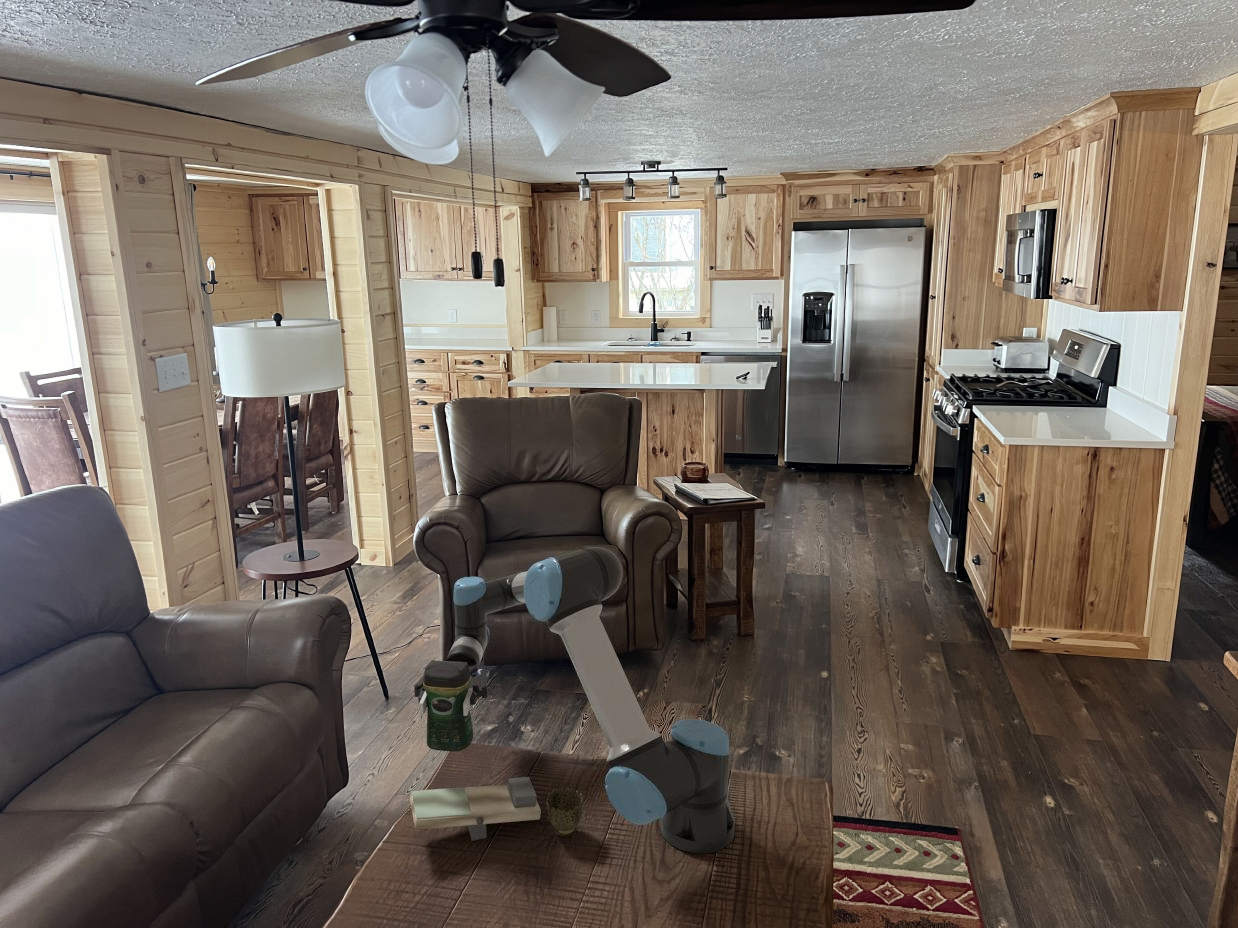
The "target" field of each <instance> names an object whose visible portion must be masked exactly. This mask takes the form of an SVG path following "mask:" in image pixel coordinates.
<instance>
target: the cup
mask: <svg viewBox="0 0 1238 928" xmlns="http://www.w3.org/2000/svg"><path fill="white" fill-rule="evenodd" d="M579 792H580V791H579V790H578V789H577V790H576V791H575V789H574V788H573V787H572V788H569V787H566V788H565V790H564V788H563V787H560V789H559V790H558V789H556V788H553V790H552V791H551V792H548V793H547V794H548V795H547V797H548V798H546V806H547V815H548V819H549V822H550V824H551V826H552V827H553V828H554V829H555V831H556V833H557V834H558V836H560V837H569V836H571V835H572V834H573V833H574V830H575V828H577V826H578V825H579V823H580V821H581V817H582V811H583V802H584V796H583V793H582V792H581V793H579Z"/></svg>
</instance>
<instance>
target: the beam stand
mask: <svg viewBox="0 0 1238 928" xmlns="http://www.w3.org/2000/svg"><path fill="white" fill-rule="evenodd" d="M466 826H467V829H468V833H469V836H470V840H471V842H474V841H477V840H481V839H487V824H480V825H479V824H477V825H466Z"/></svg>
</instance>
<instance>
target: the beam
mask: <svg viewBox="0 0 1238 928" xmlns="http://www.w3.org/2000/svg"><path fill="white" fill-rule="evenodd" d="M531 781H532V780H531V779H530V777H529V776H524V777H509V778H508V779H507V784H498V785H497V784H496V785H495V784H494V785H480V786H479V785H478V786H467V787H465V786H464V787H450V788H436V789H435V788H434V789H421V790H410V794H409V803H410V808H411V814H412V815H411V816H412V819H413V824H414V829H415V830H425V829H426V830H427V829H438V828H439V829H440V828H441V829H442V828H449V827H450V828H451V827H462V826H463V827H464V826H467V825H477V824H479V825H480V824H486V825H488V824H499V823H510V822H511V823H512V822H521V821H522V822H523V821H525V822H526V821H535V820H540V819H541V813H542V812H541V811H542V810H541V808H540V805H539V803H538V802H539V801H538V800H537V798H538V797H537V793H536V791H535V788H534V786H533V784H532V782H531Z"/></svg>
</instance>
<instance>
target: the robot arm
mask: <svg viewBox="0 0 1238 928" xmlns="http://www.w3.org/2000/svg"><path fill="white" fill-rule="evenodd" d="M623 573H624V571H623V565H622V564H621V560H620V559H619V558H618V556H617V555H616V554H615V553H614V552H613V551H611V550H609V549H607V548H604V547H601V546H590V547H585V548H581V549H579V550H575V551H572V552H567V553H564V554H559V555H556V556H551V557H547V558H546V559H543V560H540V561H537V562H535V563H533V564H532V565H531V566H530V567H529V568H528V570H527V571H519V572H516V573H513V574H511V575H507V576H503V577H501V578H498V579H493V580H489V581H485V579H483V578H482V577H480V576H464V577H461V578H460V579H457V581H455V583H454V585H453V607H454V637H455V639H454V642H453V644H452V645H451V648H450V650H449V652H448V655H447V657H446V659H445V661H453V662H467V663H468V665H469V670H470V675H471V681H470V685H469V687H468V692H467V695H466V698H465V700H464V703H463V713H464V716H467V715H468V712H469V709H470V710H471V707H472V706H475V705H476V704H477V702H478V699H479V698H480V697H481V698H483V699H487V698H488V680H489V679H490V668H489V666H484V667H482V668H479V667H480V664H481V661H482V658H483V656H484V653H485V650H486V648H487V647H488V644H489V642H490V641H489V640H490V629H489V626H488V624H487V621H488V620H487V619H488V616H487V615H488V614H492V613H496V612H498V611H502V610H505V609H508V608H512V607H515V606H519V605H520V606H521V605H524V604H525V605H526V608H527V611H528V613H529V614H530V615H531V616H532V618H533V617H534V619H535V620H537V621H539V622H546V624H547V627H548V628H549V631H550V632H552V633H555V634H557V635H559V636H560V637H561V639H562V642H563V644H564V646H565V649H566V651H567V653H568V655H569V657H570V658H569V659H570V661H571V662H572V665H573V667H574V669H575V672H576V673H577V676H578V678H579V681H580V683H581V685H582V688H583V690H584V692H585V695H586V697H587V699H588V702H589V704H590V706H591V708H592V710H593V713H594V715H595V718H596V720H597V722H598V724H599V727H600V729H601V731H602V734H603V736H604V738H605V740H606V742H607V745H608V747H609V752H608V755H607V758H606V762H607V765H608V768H609V771H608V772H607V774H606V776H605V777H604V778H605V779H604V783H605V786H604V787H605V792H606V795H607V798H608V800H609V802H610V804H611V805H612V806H613V808H614V809H615V810H616V812H617V813H618V814H619V816H621V817H623V819H626V820H627V821H628V822H629V823H631V824H634V825H638V826H643V825H644V826H645V825H648V824H650V823H652V822H654V821H656V820H659V819H660V831H661V834H662V837H663V838H664V839H665V840H666V842H667V843H668V844H670V845H671V846H673V847H674V848H676V849H678V850H681V851H684V852H686V853H691V854H711V853H715V852H718V851H721V850H723V849H725V848H726V847H728V846H729V845H730V844H731V843H732V841H733V839H734V837H735V828H736V827H735V825H736V824H735V818H734V814H733V811H732V808H731V805H730V803H729V799H728V787H729V785H728V784H729V765H730V753H731V750H730V740H729V738H730V737H729V735H728V733H727V731H726V730H725V729H723V728H722V727H721V726H719V725H718V724H716V723H714V722H711V721H708V720H704V719H697V718H686V719H681V720H679V721H677V722H675V723H674V724H673V725H672V727H671V730H670V733H669V734H670V739H669V740H667V741H665V740H664V738H663V737H662V734H661V733H660V732H657V731H654V730H652V729H651V728H650V726H649V724H648V722H647V720H646V718H645V716H644V713H643V711H642V708H641V707H640V703H639V702H638V700H637V698H636V695H635V693H634V691H633V689H632V686H631V684H630V682H629V680H628V677H627V675H626V674H625V673H626V672H625V670H624V669H623V667H622V664H621V662H620V660H619V658H618V656H617V653H616V652H615V648H614V647H613V644H612V642H611V640H610V638H609V636H608V633H607V632H606V628H605V627H604V624H603V622H602V620H601V618H600V615H601V614H602V609H603V604H602V601H605V600H607V599H609V598H610V597H611V596H612V595H614V594H615V593H616V592H617V591H618V590H619V588H620V586H621V583H622V581H623V575H624V574H623ZM476 677H478V678H479V680H480V683H481V684H480V685H481V687H479V684H477V683H476V681H475V678H476ZM423 679H424V674H423V675H422V676H421V677H420V678H419V680H418V681H417V682H416V683H415V684H414V685H413V688H414V689H413V690H414V691H413V692H414V697H415V698H417V699H418V706H419V707H418V708H419V716H424V715H425V713H426V710H427V695H426V691H425V689H424V686H423Z"/></svg>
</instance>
